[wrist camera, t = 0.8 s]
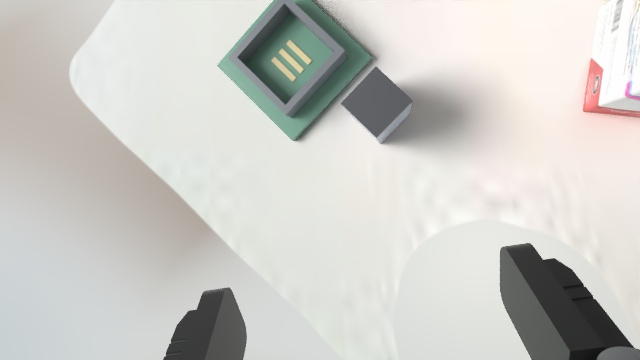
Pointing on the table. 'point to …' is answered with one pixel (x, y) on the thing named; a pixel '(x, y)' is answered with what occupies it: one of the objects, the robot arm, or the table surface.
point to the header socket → (293, 63)
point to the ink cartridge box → (615, 61)
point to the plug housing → (378, 105)
